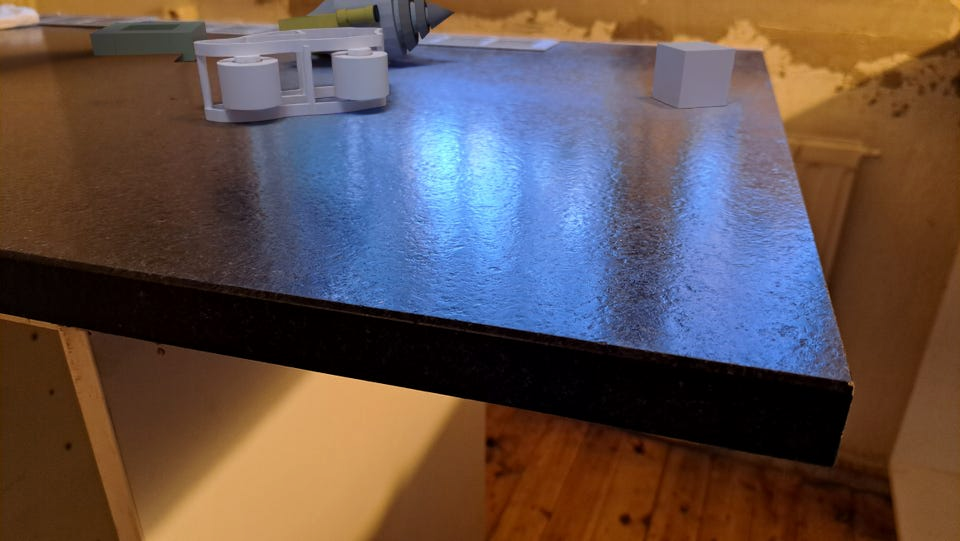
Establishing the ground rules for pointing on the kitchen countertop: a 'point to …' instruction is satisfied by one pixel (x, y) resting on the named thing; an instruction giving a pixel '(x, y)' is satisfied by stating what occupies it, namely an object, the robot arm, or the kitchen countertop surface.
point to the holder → (149, 39)
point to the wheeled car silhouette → (257, 80)
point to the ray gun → (375, 21)
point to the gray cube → (692, 74)
